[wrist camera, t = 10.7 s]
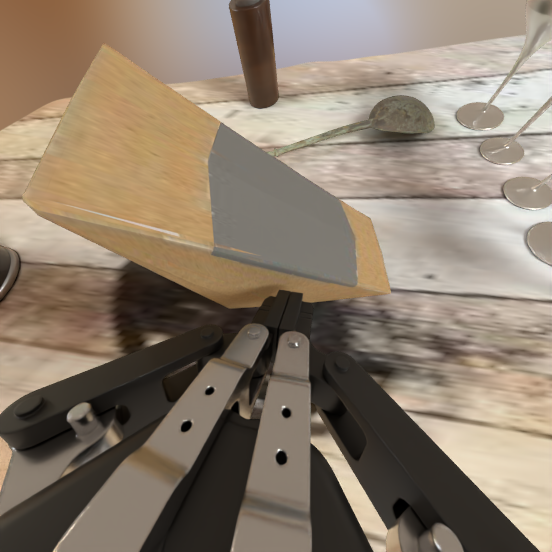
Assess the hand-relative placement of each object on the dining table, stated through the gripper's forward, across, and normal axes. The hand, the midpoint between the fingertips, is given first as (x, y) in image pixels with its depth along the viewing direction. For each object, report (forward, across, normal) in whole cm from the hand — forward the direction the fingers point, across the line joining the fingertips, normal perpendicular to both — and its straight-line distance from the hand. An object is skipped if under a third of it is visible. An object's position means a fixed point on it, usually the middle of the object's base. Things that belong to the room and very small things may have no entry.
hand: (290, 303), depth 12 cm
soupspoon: (+20, -2, -11) cm, 23 cm away
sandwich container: (+8, 0, 0) cm, 8 cm away
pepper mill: (+26, +10, -18) cm, 33 cm away
